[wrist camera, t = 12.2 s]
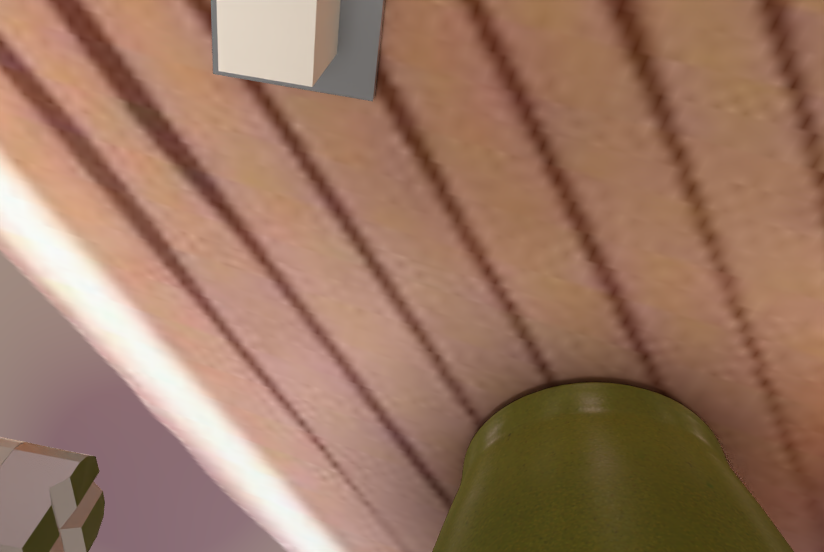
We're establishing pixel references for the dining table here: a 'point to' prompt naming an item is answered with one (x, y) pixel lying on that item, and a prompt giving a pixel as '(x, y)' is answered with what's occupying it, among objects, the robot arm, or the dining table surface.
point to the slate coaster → (339, 52)
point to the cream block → (277, 38)
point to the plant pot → (601, 480)
